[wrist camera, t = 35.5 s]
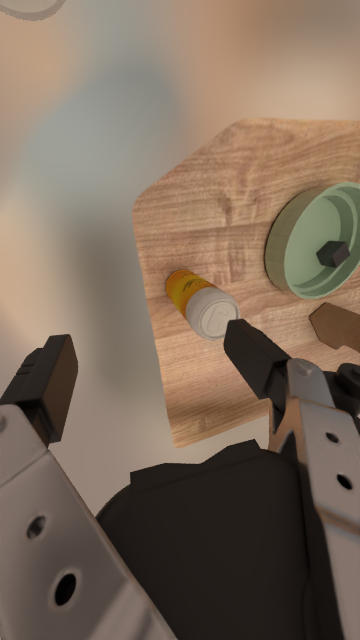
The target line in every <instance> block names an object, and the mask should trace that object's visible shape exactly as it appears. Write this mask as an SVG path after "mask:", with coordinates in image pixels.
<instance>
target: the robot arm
mask: <svg viewBox="0 0 360 640" xmlns="http://www.w3.org/2000/svg"><path fill="white" fill-rule="evenodd" d="M224 351H225V353H226V354H227V356H228V357H229V359H230V360H231V361H232V363H233V364H234V365H235V367H236V368H237V370H238V371H239V372H240V374H241V375H242V377H243V378H244V379H245V381H246V382H247V383H248V385H249V386H250V388H251V389H252V390H253V392H254V393H255V394H256V396H257V397H258V399H259V400H261V399H265V398H270V399H271V403H270V406H269V446H268V450H266V449H260V447H259V445H258V444H257V442H256V440H255V439H253V440H249V441H245V442H241V443H237V444H234V445H230V446H227V447H226V448H224V449H223V450H221V451H220V452H218V453H217V454H215V455H214V456H212V457H211V458H209V459H208V460H206V461H205V462H203V463H201V464H181V463H164V464H160V465H156V466H153V467H148V468H145V469H141V470H138V471H134V472H130V479H131V480H130V482H131V484H129V485H128V486H126V487H125V488H123V489H122V490H121V491H119V492H118V493H117V494H115V495H114V496H113V497H112V498H111V499H110V500H109V501H108V502H107V503H106V505H105V506H104V507H103V508H102V509H101V510H100V511H99V513H98V514H97V516H96V517H94V516H93V514H92V513H91V511H90V510H89V508H88V507H87V505H86V504H85V502H84V501H83V499H82V498H81V496H80V495H79V493H78V492H77V490H76V489H75V487H74V486H73V484H72V483H71V481H70V480H69V478H68V477H67V475H66V474H65V472H64V471H63V469H62V468H61V466H60V464H59V463H58V462H57V460H56V458H55V457H54V456H53V454H52V453H51V451H50V450H48V446H49V444H50V443H54V442H59V441H61V438H62V434H63V429H64V425H65V422H66V418H67V414H68V410H69V405H70V401H71V398H72V394H73V389H74V386H75V381H76V378H77V373H78V361H77V358H76V353H75V350H74V346H73V342H72V338H71V336H70V335H69V334H65V335H54V336H50V337H49V338H48V340H47V342H46V344H45V345H44V347H43V348H37V349H36V350H34V351H33V352H32V353H31V354H29V355H28V356H27V357H26V359H25V360H24V362H23V363H22V365H21V368H19V370H18V371H17V373H16V376H14V378H13V379H12V381H11V383H10V384H9V386H8V387H7V389H6V391H5V392H4V394H3V396H2V397H1V399H0V637H1V640H360V419H359V418H358V417H357V416H358V415H359V413H360V366H359V365H355V364H351V363H343V364H341V365H340V366H339V368H338V369H337V371H336V372H330V371H322V370H321V369H320V368H319V367H318V366H316V365H315V364H313V363H312V362H309V361H307V360H304V359H299V358H291V357H290V356H289V355H288V354H287V353H286V352H284V351H283V350H282V349H281V348H280V347H279V346H278V345H276V344H275V343H273V341H272V340H271V339H270V338H267V336H266V335H265V334H264V333H263V332H262V331H260V330H258V329H256V328H254V327H252V326H251V325H250V324H249V323H248V322H247V321H245V320H244V319H234V320H229V321H228V323H227V328H226V333H225V338H224Z"/></svg>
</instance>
